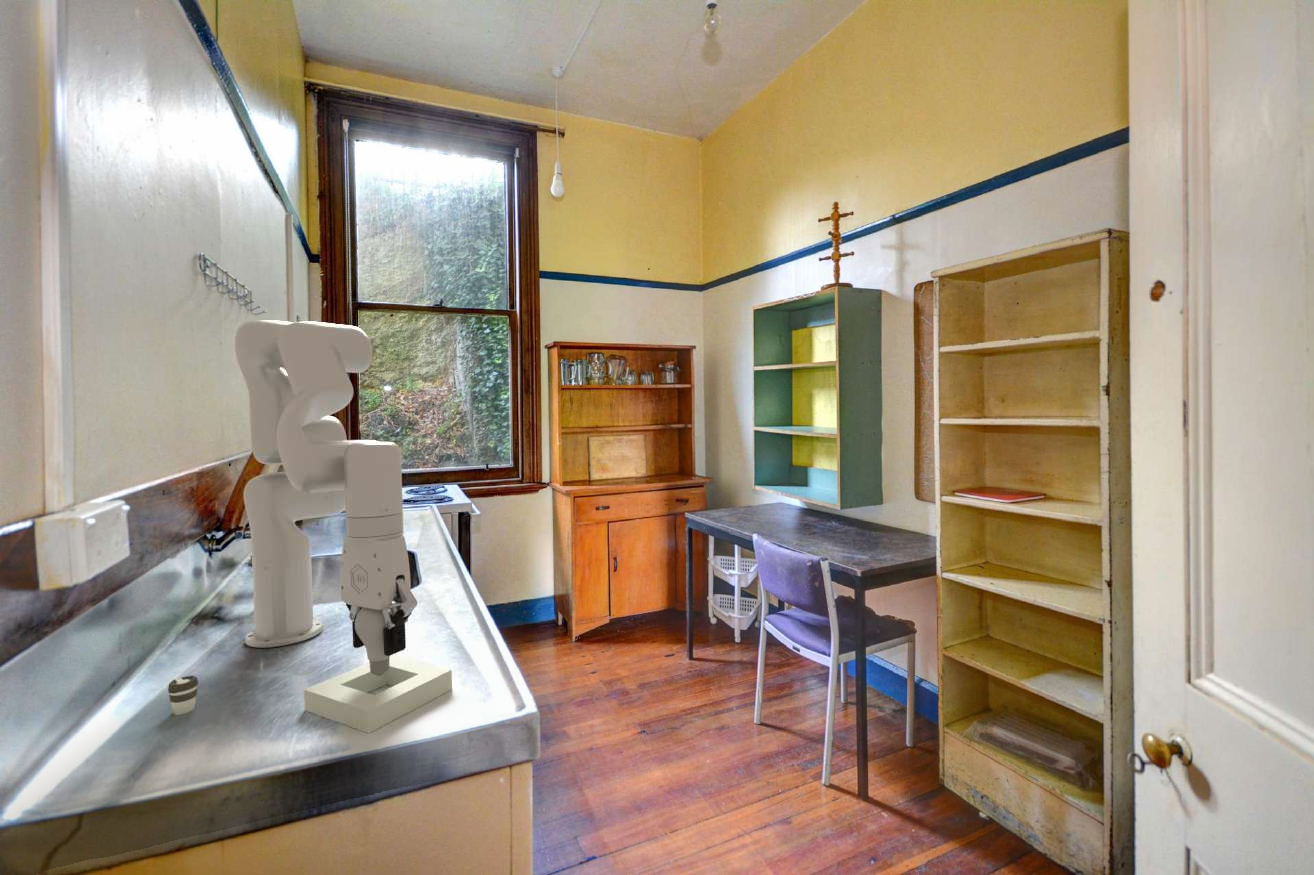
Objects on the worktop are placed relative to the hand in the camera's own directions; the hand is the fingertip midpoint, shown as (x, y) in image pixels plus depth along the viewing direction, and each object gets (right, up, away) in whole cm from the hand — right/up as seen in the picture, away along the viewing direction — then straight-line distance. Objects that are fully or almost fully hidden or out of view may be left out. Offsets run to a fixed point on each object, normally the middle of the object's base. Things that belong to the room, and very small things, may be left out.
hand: (379, 647), depth 86 cm
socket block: (0, -8, 0) cm, 8 cm away
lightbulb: (0, -4, 0) cm, 4 cm away
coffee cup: (-27, -9, -2) cm, 29 cm away
